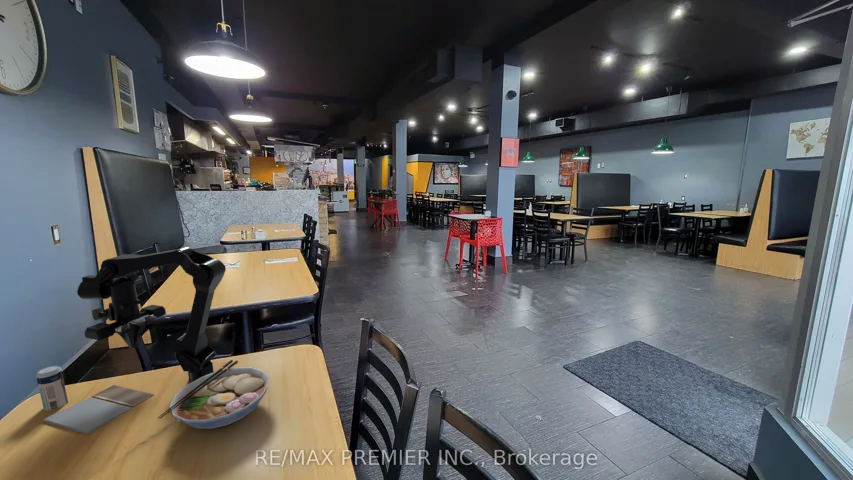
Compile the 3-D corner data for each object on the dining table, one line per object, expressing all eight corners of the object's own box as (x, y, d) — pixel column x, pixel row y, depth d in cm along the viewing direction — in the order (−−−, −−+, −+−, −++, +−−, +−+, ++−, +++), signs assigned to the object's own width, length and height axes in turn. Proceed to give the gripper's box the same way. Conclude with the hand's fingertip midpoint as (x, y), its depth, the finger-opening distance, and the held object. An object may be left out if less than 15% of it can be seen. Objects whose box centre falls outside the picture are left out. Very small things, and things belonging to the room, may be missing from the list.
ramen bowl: (227, 459, 79) (223, 427, 78) (145, 443, 84) (140, 413, 82) (290, 392, 103) (288, 367, 102) (224, 382, 108) (221, 358, 106)
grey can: (74, 404, 98) (66, 365, 95) (55, 415, 93) (45, 375, 91) (59, 403, 98) (50, 364, 96) (39, 414, 94) (29, 373, 91)
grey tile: (131, 412, 94) (131, 408, 94) (87, 436, 85) (87, 431, 85) (90, 401, 99) (89, 397, 99) (43, 423, 89) (43, 419, 89)
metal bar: (154, 398, 100) (153, 394, 100) (133, 411, 95) (133, 406, 95) (114, 389, 104) (113, 384, 104) (92, 400, 99) (91, 396, 99)
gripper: (137, 285, 113) (145, 330, 116) (65, 306, 95) (76, 359, 98) (163, 289, 110) (170, 335, 113) (94, 311, 92) (104, 365, 95)
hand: (132, 347), depth 105 cm, fingers closed
